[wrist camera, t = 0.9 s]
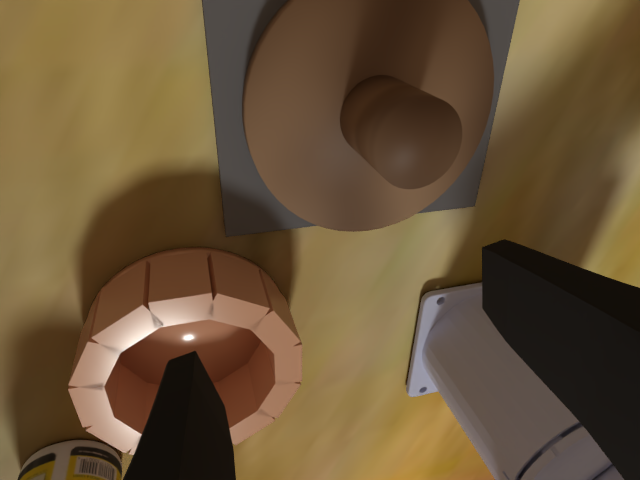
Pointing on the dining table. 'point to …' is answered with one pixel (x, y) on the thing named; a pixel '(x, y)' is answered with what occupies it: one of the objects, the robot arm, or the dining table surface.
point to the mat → (233, 154)
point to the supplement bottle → (73, 462)
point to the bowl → (185, 342)
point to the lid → (366, 106)
